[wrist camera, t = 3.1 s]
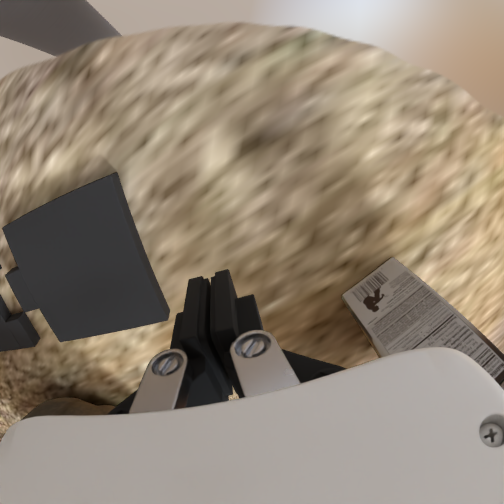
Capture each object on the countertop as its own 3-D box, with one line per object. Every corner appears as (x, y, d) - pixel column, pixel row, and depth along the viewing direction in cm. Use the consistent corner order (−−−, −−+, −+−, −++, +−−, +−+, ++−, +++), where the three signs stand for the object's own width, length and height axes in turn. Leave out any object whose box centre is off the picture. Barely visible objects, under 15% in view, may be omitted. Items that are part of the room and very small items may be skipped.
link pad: (-3, 230, 18) (-12, 236, 17) (117, 171, 18) (110, 174, 17) (50, 336, 23) (44, 345, 22) (170, 310, 23) (168, 320, 22)
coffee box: (417, 312, 27) (505, 412, 12) (371, 347, 28) (443, 463, 13) (393, 252, 24) (521, 365, 9) (337, 295, 25) (436, 443, 10)
